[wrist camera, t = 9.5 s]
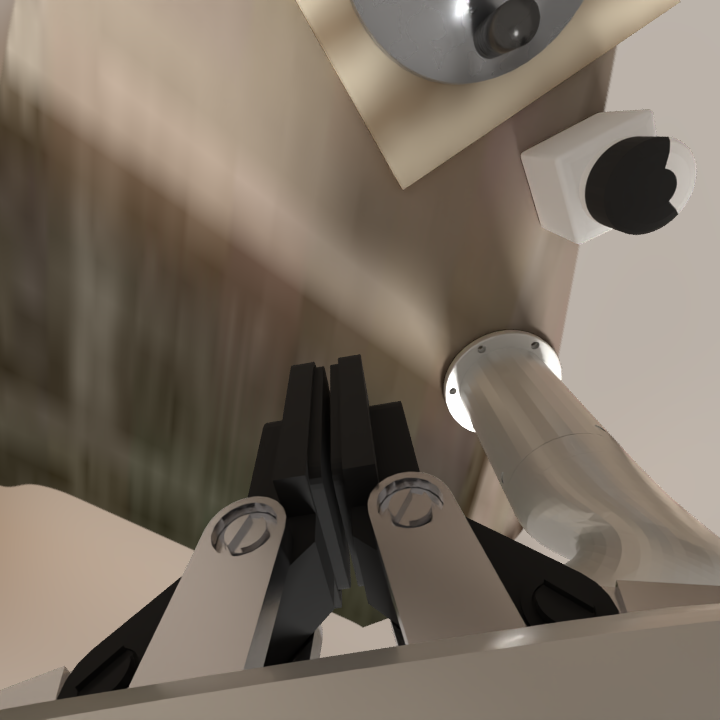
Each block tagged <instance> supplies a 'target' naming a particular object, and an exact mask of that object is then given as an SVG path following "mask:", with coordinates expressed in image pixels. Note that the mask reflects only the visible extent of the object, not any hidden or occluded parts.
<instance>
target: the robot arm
mask: <svg viewBox="0 0 720 720" xmlns="http://www.w3.org/2000/svg"><path fill="white" fill-rule="evenodd" d="M479 346H481V347H479ZM444 398H445V402H446V405H447V407H448V410H449V412H450V413H451V415H452V416H453V418H454V419H455V420H456V421H457V422H458V423H459V424H460V425H461V426H463V427H465V428H466V429H468V430H470V431H473V432H476V434H477V436H478V438H479V440H480V442H481V445H482V447H483V449H484V451H485V453H486V455H487V457H488V459H489V461H490V463H491V465H492V467H493V469H494V472H495V474H496V476H497V478H498V480H499V482H500V484H501V486H502V488H503V490H504V492H505V494H506V496H507V498H508V501H509V503H510V505H511V507H512V509H513V511H514V513H515V515H516V517H517V519H518V521H519V522H520V524H521V525H522V527H523V528H524V529H525V530H526V532H527V533H528V534H529V535H530V536H531V537H533V538H534V539H535V540H536V541H537V542H539V543H540V544H541V545H543V546H544V547H546V548H548V549H549V550H551V551H553V552H555V553H557V554H559V555H561V556H563V557H565V558H567V559H570V561H569V562H567V563H566V564H562V563H560V562H558V561H556V560H554V559H552V558H549V557H547V556H545V555H543V554H541V553H539V552H537V551H535V550H533V549H531V548H529V547H527V546H525V545H523V544H521V543H519V542H516V541H514V540H512V539H510V538H508V537H506V536H504V535H502V534H500V533H498V532H496V531H494V530H492V529H490V528H488V527H485V526H483V525H481V524H479V523H477V522H475V521H473V520H471V519H469V518H467V517H465V516H464V514H463V512H462V511H461V509H460V507H459V505H458V503H457V502H456V500H455V498H454V496H453V495H452V493H451V491H450V489H449V488H448V487H447V486H446V485H445V483H444V482H443V481H441V480H439V479H438V478H436V477H435V476H432V475H429V474H426V473H423V472H420V471H419V467H418V464H417V460H416V456H415V452H414V448H413V445H412V441H411V437H410V433H409V429H408V426H407V422H406V418H405V414H404V410H403V407H402V403H401V401H398V402H392V403H386V404H380V405H373V406H369V401H368V395H367V389H366V383H365V378H364V372H363V366H362V360H361V355H360V354H359V355H353V356H347V357H341V358H338V364H335V365H330V390H329V386H328V381H327V377H326V372H325V368H324V366H323V367H317V368H316V365H315V363H314V362H311V363H305V364H299V365H293V366H291V370H290V376H289V383H288V389H287V395H286V401H285V407H284V414H283V420H282V421H276V422H270V423H266V424H265V425H264V427H263V431H262V436H261V440H260V445H259V449H258V454H257V458H256V463H255V467H254V472H253V476H252V481H251V485H250V490H249V494H248V498H244V499H242V500H239V501H236V502H234V503H232V504H230V505H228V506H227V507H225V508H224V509H222V510H221V511H220V512H219V513H218V514H216V515H215V516H214V517H213V518H212V519H211V521H210V522H209V524H208V525H207V527H206V528H205V530H204V532H203V534H202V536H201V538H200V540H199V542H198V544H197V547H196V549H195V551H194V553H193V555H192V557H191V559H190V561H189V563H188V565H187V568H186V570H185V571H184V573H183V576H182V577H180V578H179V579H178V580H177V581H175V582H174V583H173V584H172V585H171V586H169V587H168V588H167V589H166V590H164V591H163V592H162V593H161V594H160V595H158V596H157V597H156V598H155V599H153V600H152V601H151V602H150V603H149V604H147V605H146V606H145V607H144V608H143V609H141V610H140V611H139V612H138V613H137V614H135V615H134V616H133V617H131V618H130V619H129V620H128V621H127V622H125V623H124V624H123V625H122V626H121V627H120V628H118V629H117V630H116V631H115V632H113V633H112V634H111V635H110V636H108V637H107V638H106V639H105V640H103V641H102V642H101V643H100V644H99V645H97V646H96V647H95V648H94V649H93V650H91V651H90V652H89V653H88V654H87V655H86V656H85V657H84V658H83V659H82V660H81V661H80V662H79V663H78V664H77V666H76V667H75V668H74V670H73V671H71V672H69V671H68V670H67V668H66V667H65V666H63V667H61V668H58V669H56V670H53V671H50V672H48V673H45V674H42V675H40V676H37V677H34V678H32V679H29V680H26V681H24V682H21V683H18V684H16V685H13V686H10V687H8V688H5V689H2V690H0V720H720V537H718V536H717V535H715V534H714V533H713V532H712V531H711V530H709V529H708V528H707V527H706V526H705V525H703V524H702V523H701V522H699V521H698V520H697V519H696V518H695V517H693V516H692V515H691V514H690V513H688V512H687V511H686V510H685V509H684V508H683V507H682V506H680V505H679V504H678V503H677V502H676V501H675V500H673V499H672V498H671V497H670V496H669V495H668V494H667V493H666V492H665V491H664V490H663V489H662V488H661V487H660V486H659V485H658V484H657V483H656V482H655V481H654V480H653V479H652V478H651V477H649V475H648V474H647V473H646V472H645V471H644V470H643V469H642V468H641V467H640V466H639V465H638V464H637V463H636V462H635V461H634V460H633V459H632V458H631V456H630V455H629V454H628V453H627V452H626V451H625V450H624V449H623V448H622V447H621V446H620V444H619V443H618V442H617V441H616V440H615V439H614V438H613V437H612V436H611V435H610V434H609V433H608V431H607V430H606V429H605V428H604V427H603V426H602V425H601V424H600V423H599V422H598V421H597V420H596V418H595V417H594V416H593V415H592V414H591V413H590V412H589V411H588V410H587V409H586V407H585V406H584V405H583V404H582V403H581V402H580V401H579V400H578V399H577V398H576V397H575V396H574V395H573V393H572V392H571V391H570V390H569V389H568V388H567V387H566V386H565V385H564V384H563V382H562V366H561V363H560V360H559V357H558V356H557V354H556V353H555V351H554V350H553V348H552V347H551V346H550V345H549V344H548V343H547V342H545V341H544V340H543V339H541V338H540V337H538V336H536V335H534V334H532V333H529V332H525V331H520V330H503V331H497V332H493V333H490V334H487V335H484V336H482V337H480V338H478V339H476V340H475V341H473V342H471V343H470V344H469V345H467V346H466V347H465V348H464V349H463V350H462V351H461V352H460V353H459V354H458V355H457V356H456V357H455V359H454V360H453V362H452V363H451V365H450V366H449V369H448V371H447V373H446V376H445V381H444ZM349 550H350V554H351V558H352V562H353V566H354V570H355V574H356V579H357V583H358V586H364V587H365V591H366V595H367V600H368V603H369V604H370V605H371V606H373V607H374V608H375V609H377V610H378V611H379V612H381V613H382V614H384V615H385V616H386V617H388V618H389V619H390V622H391V626H392V631H393V634H394V638H395V642H396V645H397V646H396V647H389V648H383V649H376V650H370V651H363V652H357V653H350V654H344V655H338V656H331V657H325V658H320V651H321V645H322V626H321V623H322V622H323V621H324V620H325V619H326V618H327V616H328V615H329V614H330V613H331V612H332V611H333V610H334V608H340V607H342V589H346V588H350V587H351V577H350V555H349Z"/></svg>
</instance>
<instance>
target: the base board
mask: <svg viewBox="0 0 720 720" xmlns="http://www.w3.org/2000/svg"><path fill="white" fill-rule="evenodd" d="M295 1H296V2H297V4H298V6H299V8H300V9H301V11H302V13H303V15H304V17H305V18H306V20H307V22H308V24H309V25H310V27H311V29H312V31H313V32H314V34H315V36H316V38H317V40H318V41H319V43H320V45H321V47H322V48H323V50H324V52H325V54H326V55H327V57H328V59H329V61H330V63H331V64H332V66H333V68H334V70H335V71H336V73H337V75H338V77H339V78H340V80H341V82H342V84H343V86H344V87H345V89H346V91H347V93H348V94H349V96H350V98H351V100H352V101H353V103H354V105H355V107H356V109H357V110H358V112H359V114H360V116H361V117H362V119H363V121H364V123H365V124H366V126H367V128H368V130H369V132H370V133H371V135H372V137H373V139H374V140H375V142H376V144H377V146H378V147H379V149H380V151H381V153H382V155H383V156H384V158H385V160H386V162H387V163H388V165H389V167H390V169H391V170H392V172H393V174H394V176H395V178H396V179H397V181H398V183H399V185H400V186H401V188H402V189H403V190H404V189H405V188H407V187H408V186H410V185H411V184H413V183H414V182H416V181H417V180H419V179H420V178H422V177H423V176H425V175H426V174H428V173H429V172H431V171H432V170H433V169H435V168H436V167H438V166H439V165H441V164H442V163H444V162H445V161H447V160H448V159H450V158H451V157H453V156H454V155H456V154H457V153H458V152H460V151H461V150H463V149H464V148H466V147H467V146H469V145H470V144H472V143H473V142H475V141H476V140H478V139H479V138H481V137H482V136H484V135H485V134H486V133H488V132H489V131H491V130H492V129H494V128H495V127H497V126H498V125H500V124H501V123H503V122H504V121H506V120H507V119H509V118H510V117H512V116H513V115H514V114H516V113H517V112H519V111H520V110H522V109H523V108H525V107H526V106H528V105H529V104H531V103H532V102H534V101H535V100H537V99H538V98H539V97H541V96H542V95H544V94H545V93H547V92H548V91H550V90H551V89H553V88H554V87H556V86H557V85H559V84H560V83H562V82H563V81H565V80H566V79H567V78H569V77H570V76H572V75H573V74H575V73H576V72H578V71H579V70H581V69H582V68H584V67H585V66H587V65H588V64H590V63H591V62H593V61H594V60H595V59H597V58H598V57H600V56H601V55H603V54H604V53H606V52H607V51H609V50H610V49H612V48H613V47H615V46H616V45H618V44H619V43H620V42H622V41H623V40H625V39H626V38H628V37H629V36H631V35H632V34H634V33H635V32H637V31H638V30H640V29H641V28H643V27H644V26H646V25H647V24H648V23H650V22H651V21H653V20H654V19H656V18H657V17H659V16H660V15H662V14H663V13H665V12H666V11H667V10H669V9H671V8H672V7H673V6H675V5H676V4H678V3H679V2H680V0H583V2H582V4H581V5H580V7H579V8H578V10H577V11H576V13H575V14H574V16H573V17H572V19H571V20H570V22H569V23H568V24H567V25H566V26H565V28H564V29H563V30H562V31H561V33H560V34H559V35H558V36H557V37H556V38H555V39H554V40H553V41H552V42H551V43H550V44H549V45H548V46H547V47H546V48H545V49H544V50H543V51H541V52H540V53H539V54H537V55H536V56H535V57H534V58H532V59H531V60H530V61H528V62H527V63H525V64H523V65H522V66H520V67H518V68H516V69H515V70H513V71H511V72H508V73H506V74H503V75H501V76H499V77H496V78H493V79H489V80H486V81H482V82H478V83H472V84H463V85H453V84H442V83H437V82H432V81H428V80H426V79H423V78H420V77H418V76H415V75H413V74H412V73H410V72H408V71H406V70H405V69H403V68H401V67H400V66H399V65H397V64H396V63H395V62H393V61H392V60H391V59H389V58H388V57H387V56H386V55H385V54H384V53H383V52H382V51H381V50H380V49H379V48H378V47H377V46H376V44H375V43H374V42H373V40H372V39H371V38H370V36H369V35H368V34H367V32H366V31H365V29H364V28H363V26H362V24H361V22H360V21H359V19H358V17H357V15H356V14H355V11H354V9H353V7H352V4H351V2H350V0H295Z"/></svg>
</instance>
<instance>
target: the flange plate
mask: <svg viewBox="0 0 720 720" xmlns="http://www.w3.org/2000/svg"><path fill="white" fill-rule="evenodd" d="M350 2H351V4H352V7H353V9H354V11H355V14H356V15H357V17H358V19H359V21H360V22H361V24H362V26H363V28H364V29H365V31H366V32H367V34H368V35H369V36H370V38H371V39H372V40H373V42H374V43H375V44H376V46H377V47H378V48H379V49H380V50H381V51H382V52H383V53H384V54H385V55H386V56H387V57H388V58H389V59H391V60H392V61H393V62H395V63H396V64H397V65H399V66H400V67H401V68H403V69H405V70H406V71H408V72H410V73H412V74H413V75H415V76H418V77H420V78H423V79H426V80H428V81H432V82H437V83H442V84H453V85H463V84H472V83H478V82H482V81H486V80H489V79H493V78H496V77H499V76H501V75H503V74H506V73H508V72H511V71H513V70H515V69H516V68H518V67H520V66H522V65H523V64H525V63H527V62H528V61H530V60H531V59H532V58H534V57H535V56H536V55H537V54H539V53H540V52H541V51H543V50H544V49H545V48H546V47H547V46H548V45H549V44H550V43H551V42H552V41H553V40H554V39H555V38H556V37H557V36H558V35H559V34H560V33H561V31H562V30H563V29H564V28H565V26H566V25H567V24H568V23H569V22H570V20H571V19H572V17H573V16H574V14H575V13H576V11H577V10H578V8H579V7H580V5H581V4H582V2H583V0H350Z"/></svg>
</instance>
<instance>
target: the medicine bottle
mask: <svg viewBox="0 0 720 720" xmlns="http://www.w3.org/2000/svg"><path fill="white" fill-rule="evenodd" d="M521 160H522V163H523V166H524V170H525V173H526V176H527V180H528V183H529V187H530V190H531V193H532V197H533V200H534V203H535V207H536V210H537V213H538V217H539V220H540V224H541V226H542V228H544V229H546V230H548V231H551V232H553V233H555V234H557V235H559V236H561V237H564V238H566V239H568V240H570V241H572V242H574V243H577V244H582V243H585V242H587V241H589V240H591V239H593V238H595V237H597V236H599V235H602V234H603V233H606V232H608V231H610V230H612V229H615V230H618V231H621V232H624V233H627V234H633V235H640V234H646V233H650V232H653V231H655V230H657V229H660V228H661V227H663V226H665V225H666V224H667V223H669V222H670V221H672V220H673V219H674V218H675V217H676V216H677V215H678V214H679V213H680V211H681V210H682V209H683V208H684V206H685V205H686V204H687V202H688V200H689V198H690V196H691V194H692V192H693V189H694V186H695V181H696V172H697V169H696V162H695V158H694V156H693V153H692V151H691V150H690V148H689V147H688V146H687V145H686V144H685V143H683V142H682V141H680V140H678V139H675V138H671V137H657V133H656V127H655V120H654V114H653V111H651V110H649V109H647V110H633V111H615V112H600V113H597V114H595V115H593V116H591V117H589V118H587V119H585V120H583V121H581V122H579V123H577V124H575V125H574V126H572V127H570V128H568V129H566V130H564V131H562V132H560V133H558V134H556V135H554V136H552V137H550V138H549V139H547V140H545V141H543V142H541V143H539V144H537V145H535V146H533V147H531V148H529V149H527V150H525V151H524V152H522V154H521Z"/></svg>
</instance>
